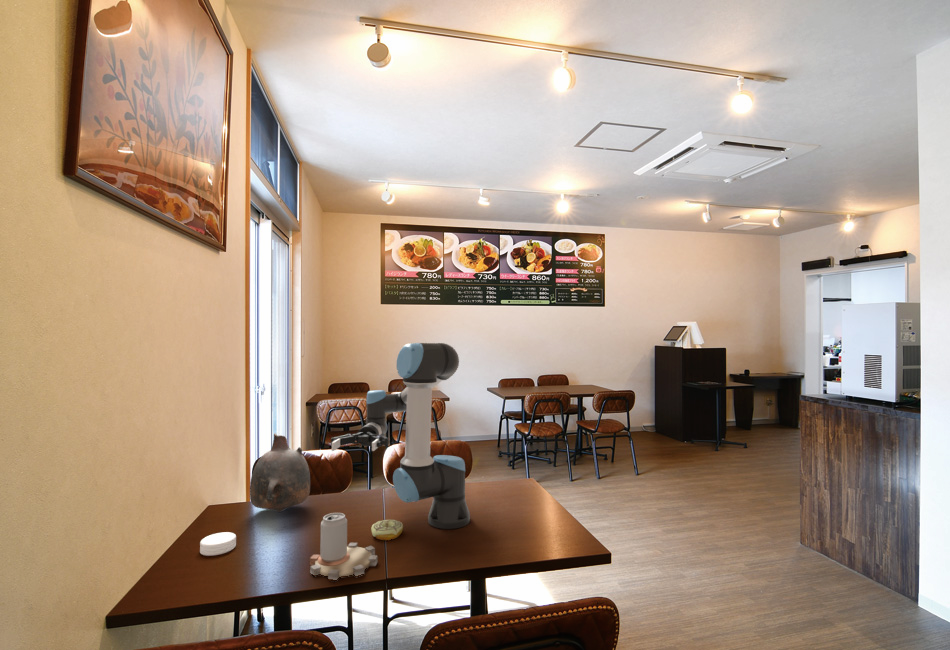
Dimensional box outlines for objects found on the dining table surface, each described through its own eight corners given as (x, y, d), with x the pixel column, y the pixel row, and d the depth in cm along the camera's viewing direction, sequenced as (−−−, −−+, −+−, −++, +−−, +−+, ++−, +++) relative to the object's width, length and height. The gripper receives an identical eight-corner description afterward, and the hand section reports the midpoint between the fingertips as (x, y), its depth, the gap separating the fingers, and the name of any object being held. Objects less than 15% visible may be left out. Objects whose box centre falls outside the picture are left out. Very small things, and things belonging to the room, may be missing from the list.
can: (323, 552, 137) (324, 511, 137) (349, 551, 138) (349, 510, 138) (317, 564, 129) (317, 521, 130) (344, 562, 130) (344, 520, 131)
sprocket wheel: (384, 549, 143) (384, 542, 143) (367, 581, 123) (367, 573, 123) (323, 548, 143) (323, 542, 143) (297, 580, 124) (297, 572, 124)
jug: (317, 515, 171) (318, 434, 173) (255, 528, 159) (256, 441, 161) (301, 497, 192) (302, 425, 193) (244, 508, 179) (246, 431, 181)
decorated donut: (368, 542, 148) (368, 530, 148) (373, 529, 159) (373, 518, 159) (401, 541, 149) (401, 529, 149) (403, 528, 160) (403, 517, 160)
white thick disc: (202, 545, 146) (202, 534, 146) (237, 540, 150) (237, 529, 150) (197, 559, 137) (197, 547, 137) (234, 553, 141) (234, 541, 141)
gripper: (401, 444, 173) (389, 458, 152) (337, 444, 174) (315, 457, 153) (402, 424, 173) (389, 435, 152) (337, 424, 174) (316, 435, 153)
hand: (352, 446), depth 152 cm, fingers open, 13 cm apart
